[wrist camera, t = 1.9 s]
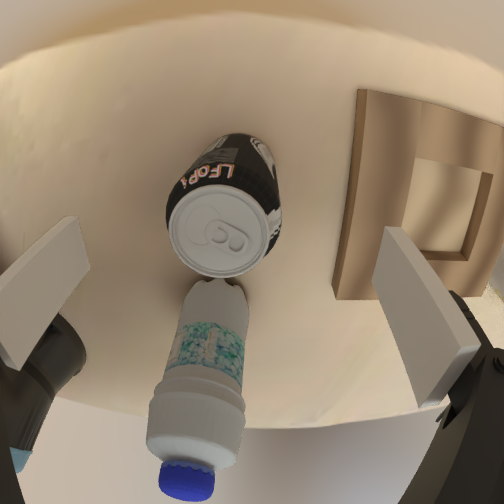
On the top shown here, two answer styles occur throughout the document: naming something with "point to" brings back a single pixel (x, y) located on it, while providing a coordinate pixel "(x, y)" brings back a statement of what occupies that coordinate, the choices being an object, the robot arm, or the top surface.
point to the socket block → (422, 193)
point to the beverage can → (226, 208)
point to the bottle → (201, 392)
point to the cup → (498, 275)
